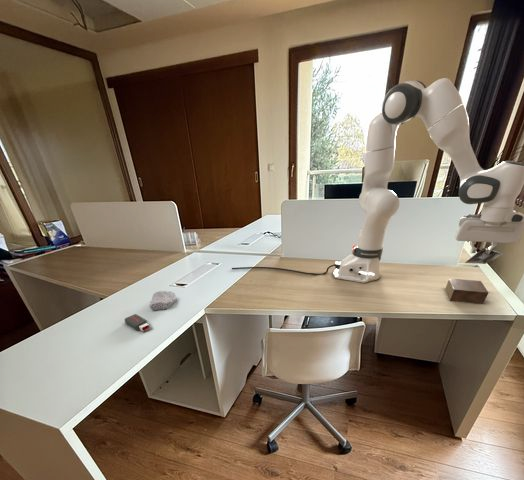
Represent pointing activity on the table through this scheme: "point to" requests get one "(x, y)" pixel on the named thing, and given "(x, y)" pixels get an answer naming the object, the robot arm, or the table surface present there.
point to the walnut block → (466, 291)
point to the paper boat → (483, 257)
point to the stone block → (162, 300)
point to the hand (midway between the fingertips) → (479, 253)
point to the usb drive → (137, 323)
